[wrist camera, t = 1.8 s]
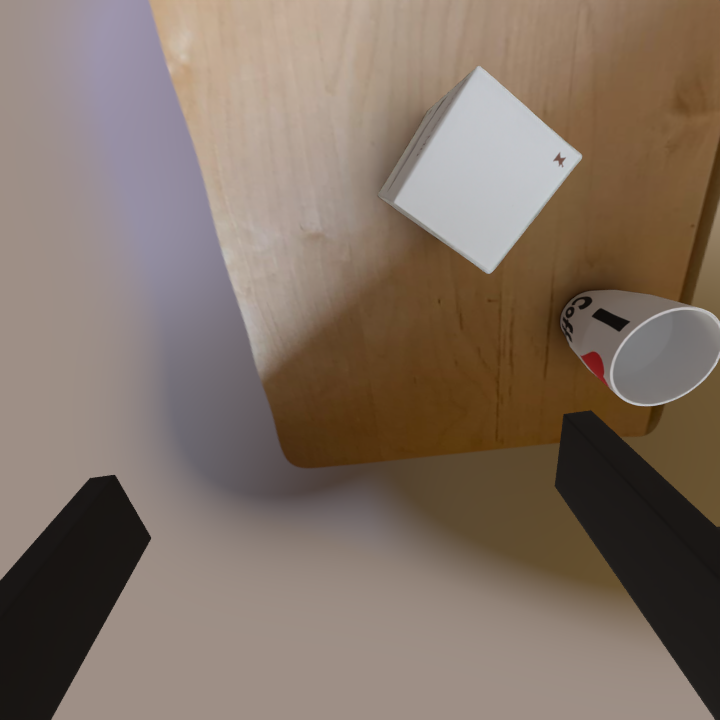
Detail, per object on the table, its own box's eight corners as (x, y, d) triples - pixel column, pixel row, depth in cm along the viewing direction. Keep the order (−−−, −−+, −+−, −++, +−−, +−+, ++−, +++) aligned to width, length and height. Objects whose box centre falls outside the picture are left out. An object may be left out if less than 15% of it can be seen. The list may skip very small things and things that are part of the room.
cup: (558, 272, 34) (633, 304, 25) (641, 276, 34) (746, 309, 25) (535, 352, 37) (595, 405, 28) (612, 354, 38) (694, 407, 29)
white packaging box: (427, 107, 28) (482, 54, 17) (498, 166, 30) (590, 156, 19) (373, 195, 31) (389, 201, 19) (442, 245, 33) (493, 277, 21)
